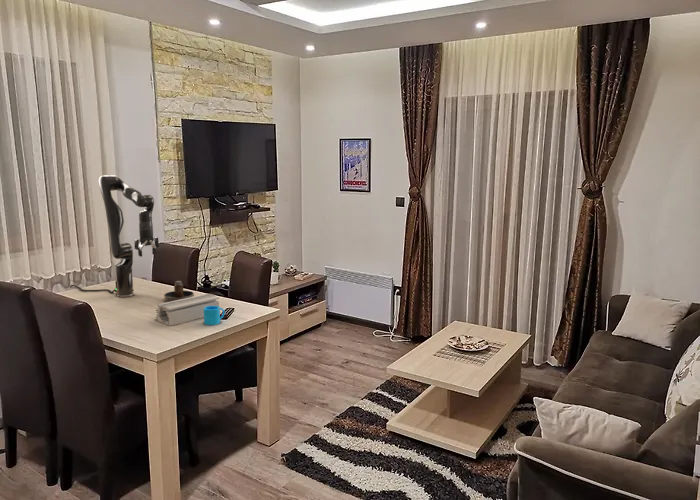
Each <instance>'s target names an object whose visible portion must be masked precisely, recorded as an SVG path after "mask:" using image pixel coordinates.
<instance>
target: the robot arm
mask: <svg viewBox="0 0 700 500" xmlns="http://www.w3.org/2000/svg"><path fill="white" fill-rule="evenodd" d="M98 186H99V190H100V193H101V194H100V195H101V196H102V200H103V205H104V211H105V216H106V220H107V226H108V232H109V239H110V240H109V241H110V249H111V254H112V256H113V258H114V259H116V260H120V259H121V260H120V261H119V262H117V263H116V264H115V276H116V277H115V278H116V279H115V280H114V281H115V288H114V289H113V290H110V289H107V288H102V289H101V288H100V289H82V287H81V286H78V285H76V284H70V286H69V288H72V287H75V288H76V289H79V290H80V291H82V292H109V293H110V294H113V293H115V296H117V297H118V298H127V297H132V296H134V291H135V289H134V281H133V280H134V279H133V263H134V250H136V251H137V254H138V255H137V256H139V257H141V258H142V257H143V249H144V247H148V246H150V247H151V251H152V255H153V256H155V255H156V254H157V248H159V247H160V242H159V237H157V236H154V225H153V210H154V206H155V198H154V197H153V196H152V195H151V194H142V193H141V192H140V191H139V190H137V189H136V188H134V187H131V186H130V185H128V184H127V183H126V182H124V181H123V180H122V179H121V178H119V177H118V176H117V175H101V176H99V179H98ZM112 191H118V192H121V193H122V196H123V197H124V198H126V199H127V200H129V201H131V202H132V203H133V204H134V205H135V206H136V207H138V208H143V210H141V211H139V213H138V221H139V222H138V232H139V239H137V238H135V239H134V250H133V246H132V245H131V243H129V242H121V238H120V237H121V232H122V230H123V226H124V223H125V220H124V219H125V218H124V214H123V210H122V208H121V207H120V205H119V204H118V203H117V202H116V201H115V199H114V198H113V194H112Z"/></svg>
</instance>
